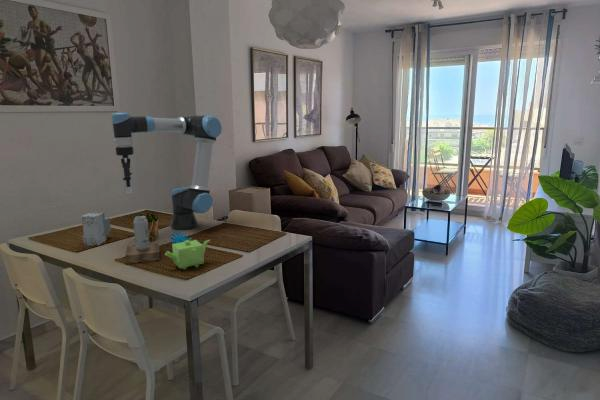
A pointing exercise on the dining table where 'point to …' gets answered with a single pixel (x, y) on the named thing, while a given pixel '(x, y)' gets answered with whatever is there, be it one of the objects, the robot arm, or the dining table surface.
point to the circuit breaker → (95, 228)
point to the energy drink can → (141, 233)
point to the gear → (179, 238)
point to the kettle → (188, 253)
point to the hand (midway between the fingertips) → (129, 191)
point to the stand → (142, 254)
